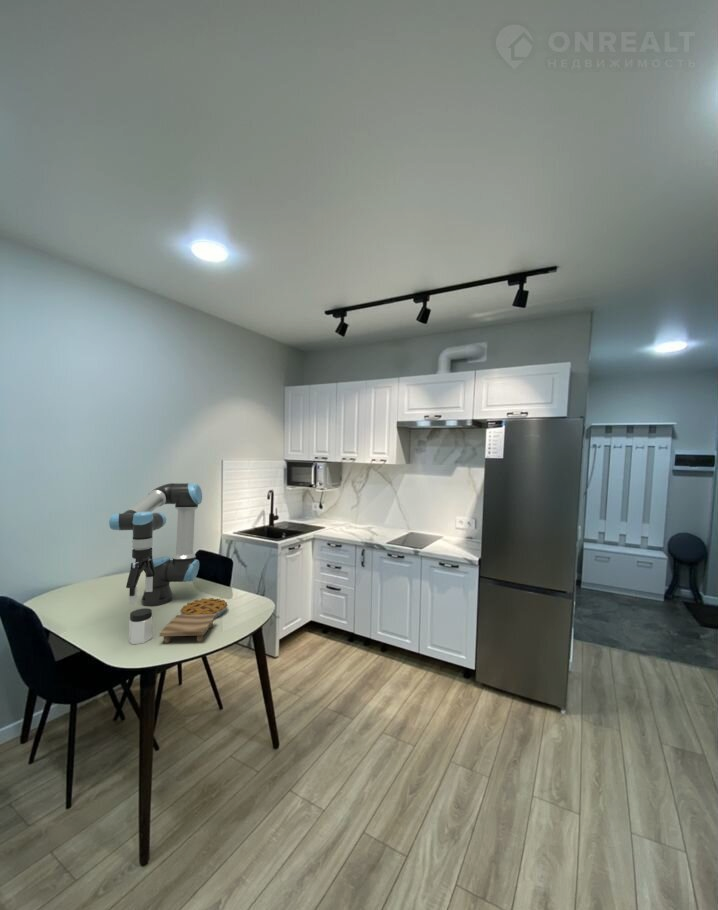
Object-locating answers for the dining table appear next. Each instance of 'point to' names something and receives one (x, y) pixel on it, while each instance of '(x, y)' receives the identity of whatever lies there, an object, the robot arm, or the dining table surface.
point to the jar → (140, 626)
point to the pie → (205, 607)
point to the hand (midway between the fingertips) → (141, 597)
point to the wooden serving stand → (188, 626)
